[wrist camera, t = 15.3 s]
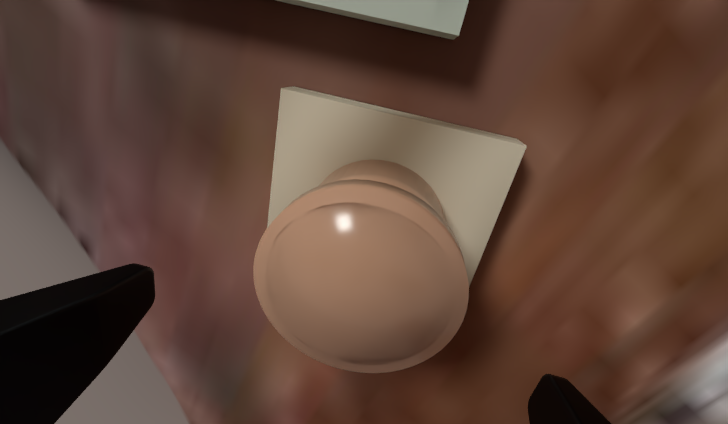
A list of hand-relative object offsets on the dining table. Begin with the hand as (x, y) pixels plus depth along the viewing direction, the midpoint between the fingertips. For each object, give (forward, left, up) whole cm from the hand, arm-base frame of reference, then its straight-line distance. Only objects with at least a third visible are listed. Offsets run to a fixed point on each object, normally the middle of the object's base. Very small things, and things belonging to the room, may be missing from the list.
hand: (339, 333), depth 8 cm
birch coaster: (0, 0, -7) cm, 7 cm away
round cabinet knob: (0, 0, -5) cm, 5 cm away
